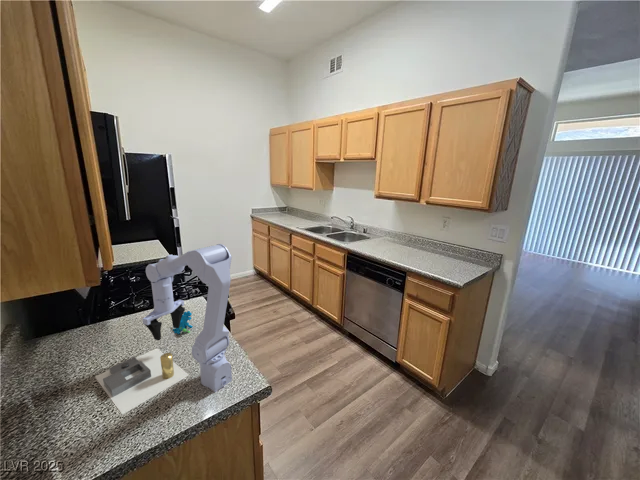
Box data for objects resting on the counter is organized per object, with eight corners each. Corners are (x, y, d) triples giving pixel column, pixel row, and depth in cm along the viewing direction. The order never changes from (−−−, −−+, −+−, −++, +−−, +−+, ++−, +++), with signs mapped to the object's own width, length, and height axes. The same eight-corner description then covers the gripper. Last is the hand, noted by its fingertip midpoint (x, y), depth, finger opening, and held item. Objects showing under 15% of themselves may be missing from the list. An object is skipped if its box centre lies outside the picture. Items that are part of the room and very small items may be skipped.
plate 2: (151, 376, 82) (150, 370, 81) (112, 397, 74) (111, 390, 73) (141, 367, 86) (140, 360, 85) (104, 385, 78) (102, 378, 77)
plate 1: (151, 376, 82) (150, 372, 82) (125, 390, 76) (124, 386, 76) (134, 360, 89) (134, 355, 89) (109, 371, 83) (108, 367, 83)
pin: (176, 374, 83) (174, 355, 82) (165, 380, 81) (163, 361, 79) (171, 370, 85) (169, 351, 83) (160, 375, 82) (158, 356, 81)
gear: (170, 323, 110) (187, 305, 112) (182, 328, 114) (199, 311, 115) (171, 340, 102) (190, 321, 103) (184, 345, 105) (202, 327, 106)
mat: (189, 377, 83) (189, 375, 83) (122, 417, 69) (122, 414, 69) (157, 350, 96) (157, 348, 95) (95, 379, 81) (94, 376, 81)
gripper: (172, 286, 95) (175, 320, 98) (133, 304, 82) (138, 342, 85) (187, 289, 93) (190, 324, 96) (150, 308, 79) (155, 347, 82)
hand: (167, 333), depth 90 cm, fingers open, 7 cm apart
